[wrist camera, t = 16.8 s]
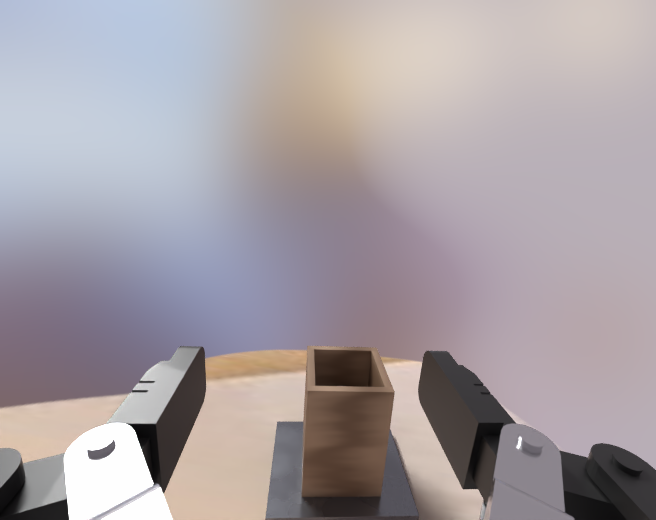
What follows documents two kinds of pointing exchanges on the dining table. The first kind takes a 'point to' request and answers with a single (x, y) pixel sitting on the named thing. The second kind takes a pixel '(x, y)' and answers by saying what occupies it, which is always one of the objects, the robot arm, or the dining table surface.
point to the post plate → (332, 512)
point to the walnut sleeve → (345, 422)
